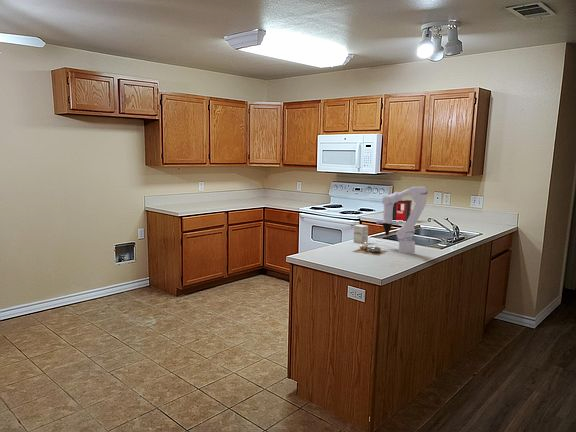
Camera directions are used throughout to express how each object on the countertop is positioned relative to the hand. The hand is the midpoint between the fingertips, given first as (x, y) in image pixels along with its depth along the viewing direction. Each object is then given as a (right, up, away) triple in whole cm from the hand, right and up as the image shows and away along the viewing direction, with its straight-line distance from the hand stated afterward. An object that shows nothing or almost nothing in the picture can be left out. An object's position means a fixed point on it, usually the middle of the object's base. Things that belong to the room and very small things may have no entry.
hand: (387, 235), depth 286 cm
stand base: (-13, -11, -11) cm, 21 cm away
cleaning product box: (+40, +7, +122) cm, 129 cm away
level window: (-19, -9, -8) cm, 22 cm away
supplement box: (-14, -7, +20) cm, 25 cm away
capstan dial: (-14, -9, -11) cm, 20 cm away
